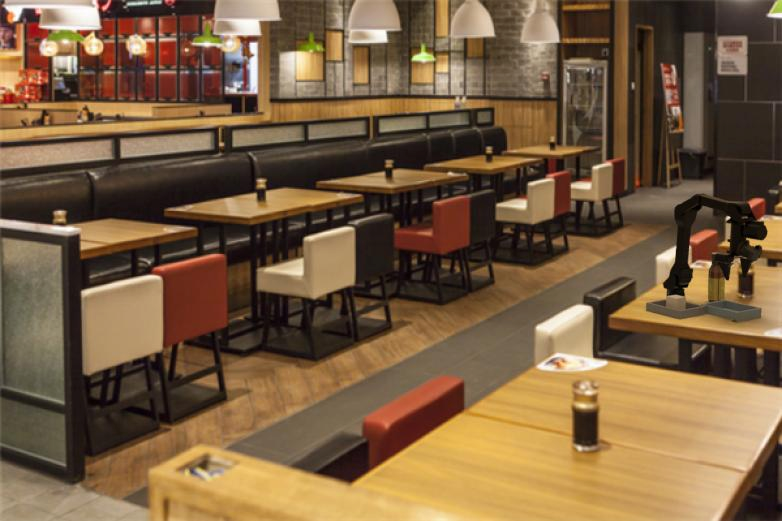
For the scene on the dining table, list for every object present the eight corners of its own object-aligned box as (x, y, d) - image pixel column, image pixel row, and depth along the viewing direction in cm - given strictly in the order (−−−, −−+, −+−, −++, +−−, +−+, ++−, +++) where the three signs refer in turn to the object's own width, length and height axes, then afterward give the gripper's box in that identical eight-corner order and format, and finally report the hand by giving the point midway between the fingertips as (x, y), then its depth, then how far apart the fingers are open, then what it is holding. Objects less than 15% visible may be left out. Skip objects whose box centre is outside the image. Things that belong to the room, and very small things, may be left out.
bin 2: (700, 313, 378) (700, 304, 377) (724, 308, 385) (725, 299, 385) (736, 322, 364) (737, 312, 364) (761, 317, 371) (761, 308, 371)
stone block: (665, 311, 378) (666, 296, 377) (674, 310, 381) (675, 294, 380) (675, 314, 374) (676, 298, 373) (685, 312, 377) (685, 297, 376)
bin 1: (645, 311, 381) (646, 302, 380) (671, 307, 388) (671, 298, 388) (679, 320, 367) (680, 311, 367) (705, 315, 374) (705, 306, 374)
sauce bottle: (722, 301, 398) (725, 251, 394) (725, 305, 392) (728, 254, 388) (705, 301, 399) (707, 251, 395) (708, 304, 392) (711, 254, 389)
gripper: (739, 242, 354) (736, 285, 357) (773, 237, 364) (771, 279, 366) (713, 237, 363) (711, 280, 366) (748, 233, 373) (746, 274, 376)
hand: (735, 279), depth 368 cm, fingers open, 9 cm apart
